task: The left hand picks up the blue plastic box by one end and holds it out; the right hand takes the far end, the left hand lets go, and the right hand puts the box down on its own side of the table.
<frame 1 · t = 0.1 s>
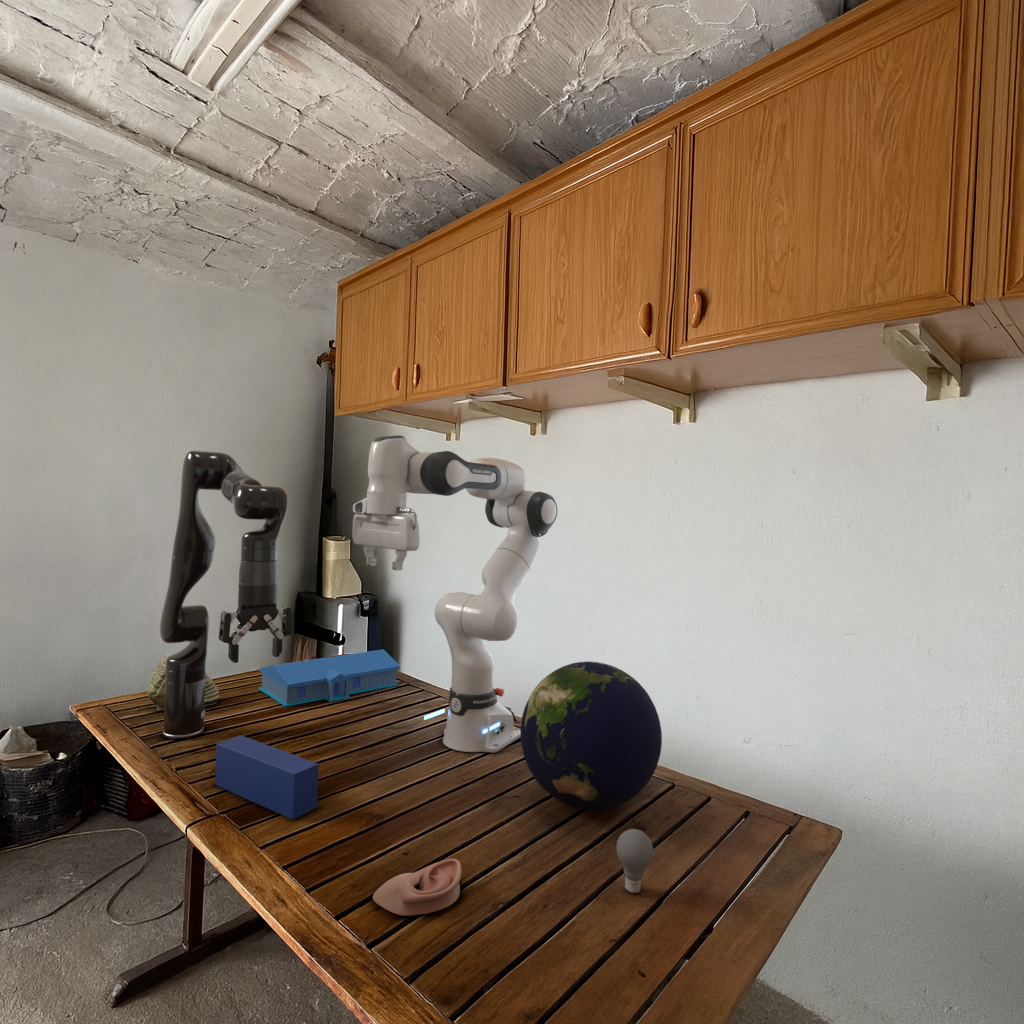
left hand: (255, 659, 132), 29 cm above the table, tool pointing down, fingers open, 8 cm apart
right hand: (384, 567, 143), 48 cm above the table, tool pointing down, fingers open, 8 cm apart
globe: (586, 803, 136), on the table
fossil: (183, 706, 185), on the table
anatomical model: (417, 895, 102), on the table
model building: (332, 688, 208), on the table
light bulb: (632, 891, 106), on the table
box: (264, 796, 133), on the table
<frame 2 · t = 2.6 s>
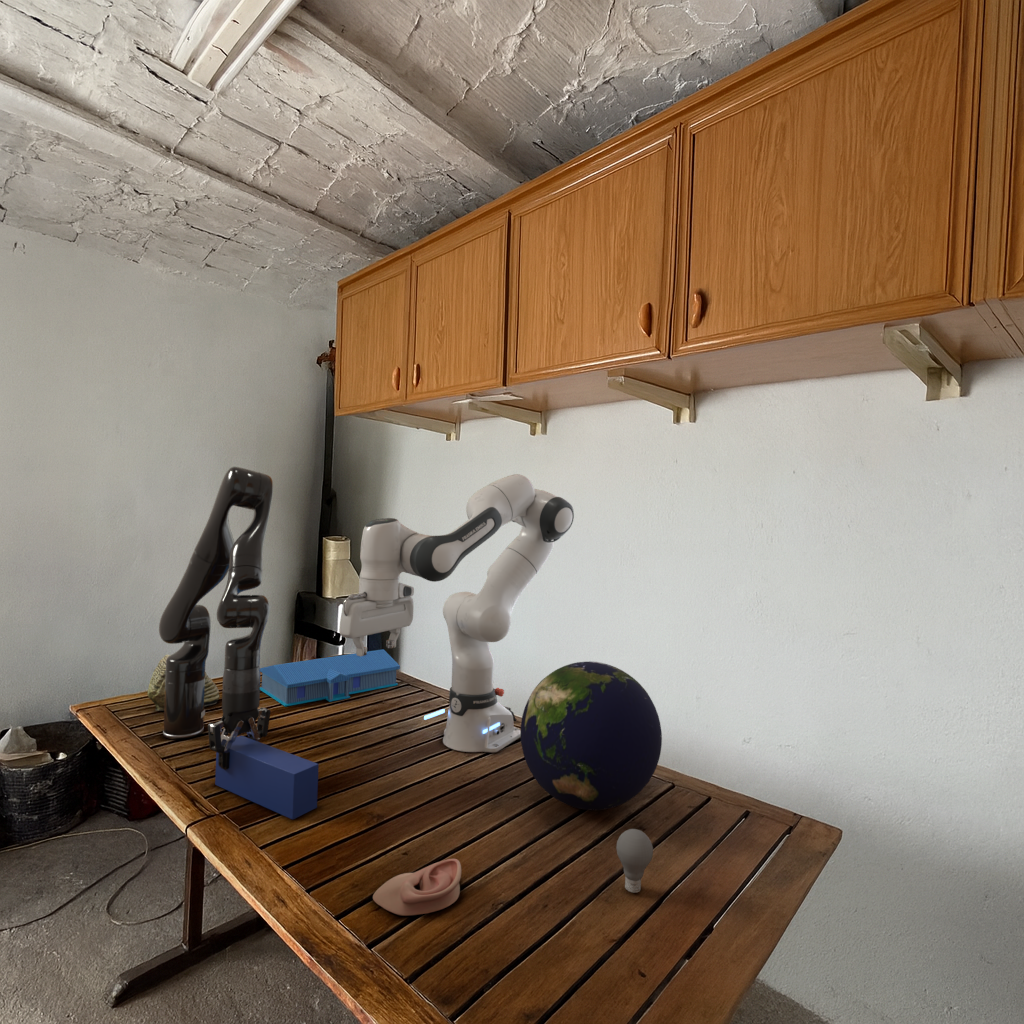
left hand: (238, 763, 138), 5 cm above the table, tool pointing down, fingers closed on box, 6 cm apart
right hand: (376, 651, 143), 29 cm above the table, tool pointing down, fingers open, 8 cm apart
box: (264, 796, 133), on the table, touching left hand
everything else where it was.
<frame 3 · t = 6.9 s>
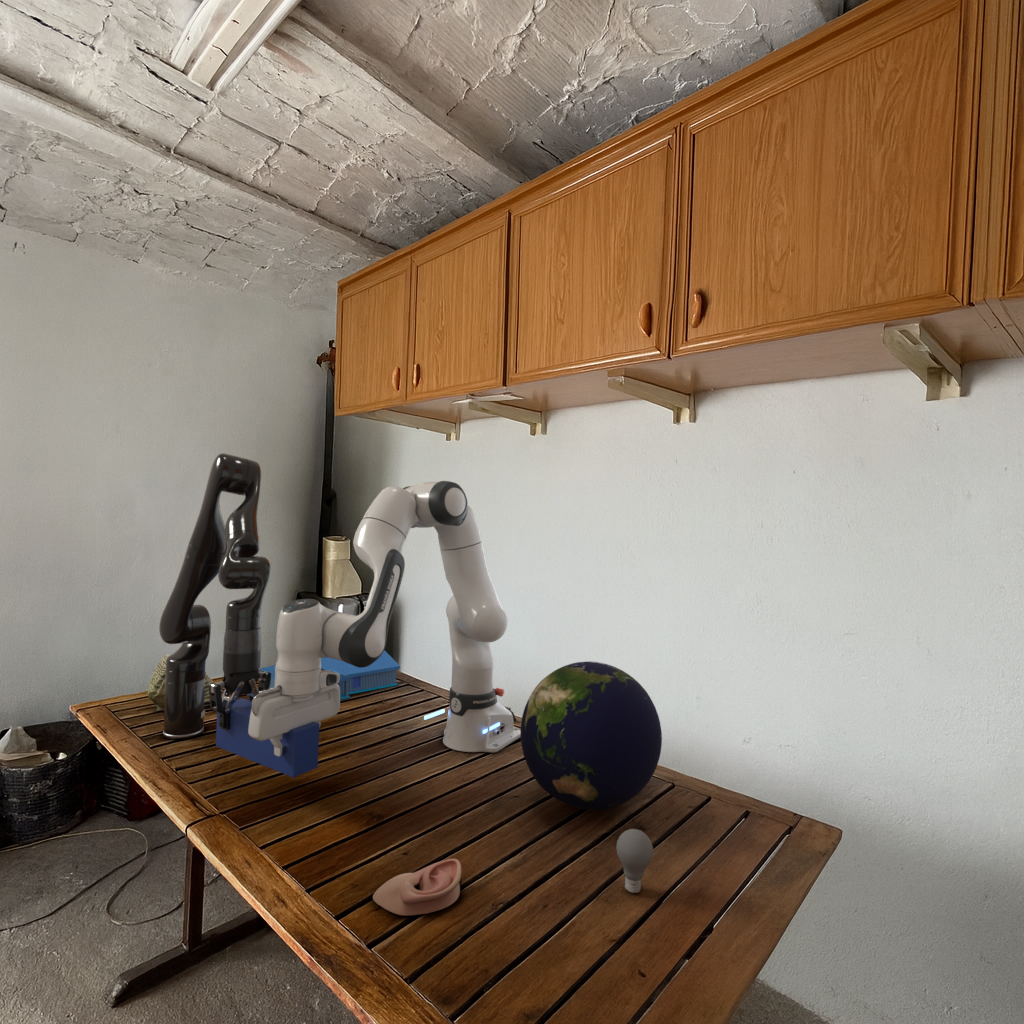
left hand: (239, 724, 138), 13 cm above the table, tool pointing down, fingers closed on box, 6 cm apart
right hand: (295, 748, 128), 12 cm above the table, tool pointing down, fingers closed on box, 6 cm apart
box: (265, 756, 133), point 8 cm above the table, touching left hand, right hand
everything else where it was.
when the right hand's fingers open (6 cm above the table, at t = 12.6 s): box drops 2 cm, on the table.
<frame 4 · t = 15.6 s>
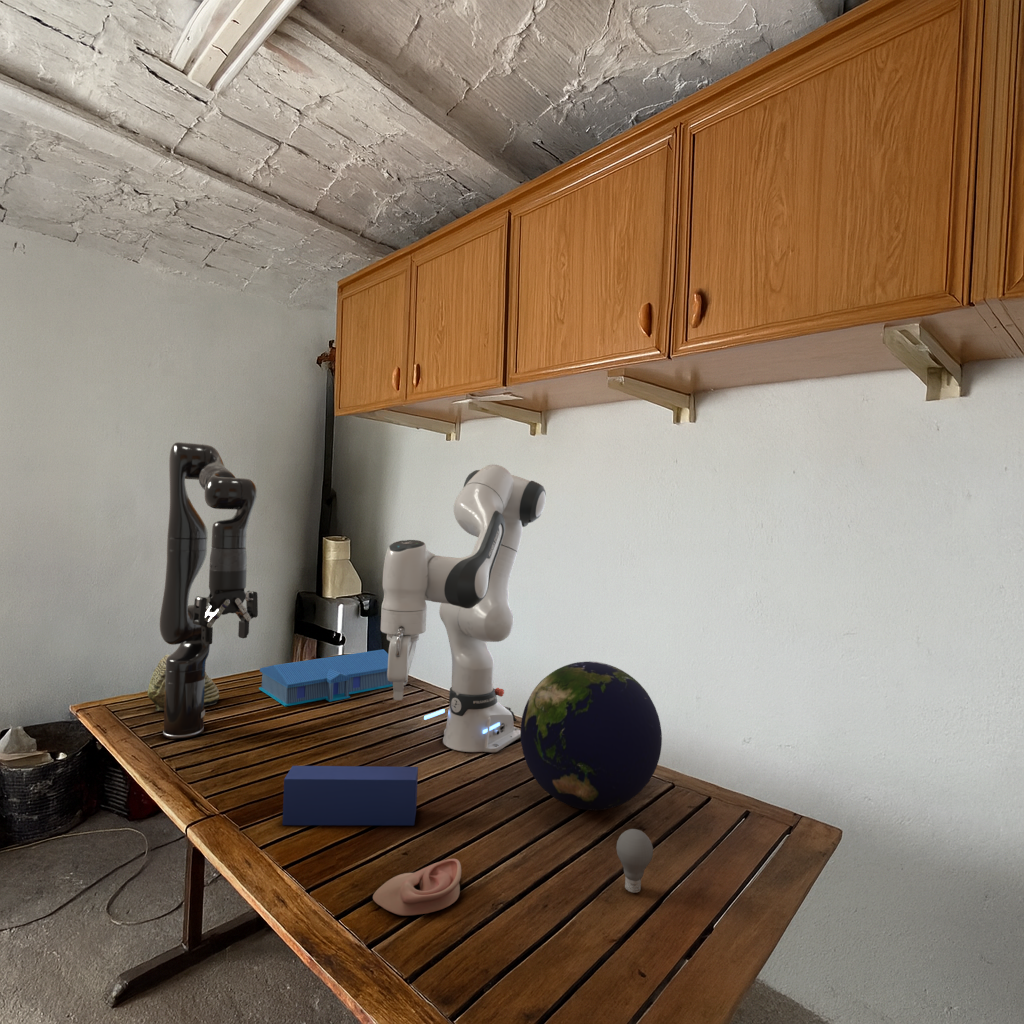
left hand: (225, 640, 140), 30 cm above the table, tool pointing down, fingers open, 8 cm apart
right hand: (400, 691, 126), 25 cm above the table, tool pointing down, fingers open, 8 cm apart
box: (351, 817, 126), on the table
everything else where it was.
at the end: box inside the target area (8.6 cm from its centre), on the table; the left hand is holding nothing; the right hand is holding nothing; box at rest at the end (0.0 cm/s) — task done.
